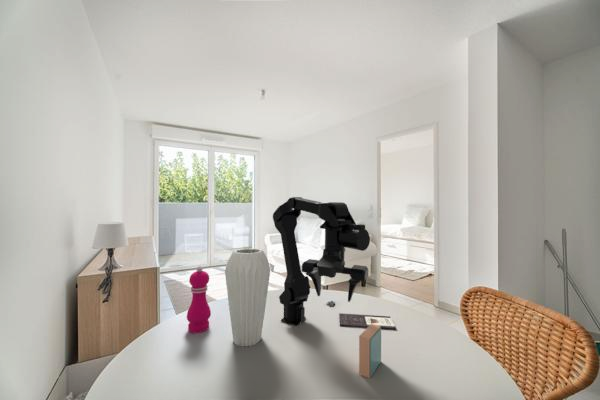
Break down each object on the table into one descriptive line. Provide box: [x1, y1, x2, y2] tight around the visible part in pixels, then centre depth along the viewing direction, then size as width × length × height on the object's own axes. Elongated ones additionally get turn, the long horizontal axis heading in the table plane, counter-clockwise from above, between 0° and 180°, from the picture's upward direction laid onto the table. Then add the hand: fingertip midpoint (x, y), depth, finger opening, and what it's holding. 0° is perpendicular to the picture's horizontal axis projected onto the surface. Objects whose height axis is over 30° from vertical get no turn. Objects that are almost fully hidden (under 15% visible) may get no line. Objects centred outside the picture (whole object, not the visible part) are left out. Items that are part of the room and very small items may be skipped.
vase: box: [224, 248, 271, 348], centre depth 77 cm, size 13×13×26 cm
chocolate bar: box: [338, 312, 397, 331], centre depth 88 cm, size 9×1×18 cm
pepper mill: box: [186, 266, 212, 334], centre depth 83 cm, size 7×7×20 cm
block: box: [358, 324, 382, 379], centre depth 64 cm, size 3×8×9 cm, turn 144°
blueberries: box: [326, 300, 336, 308], centre depth 103 cm, size 7×8×2 cm
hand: (333, 298), depth 75 cm, fingers open, 9 cm apart
